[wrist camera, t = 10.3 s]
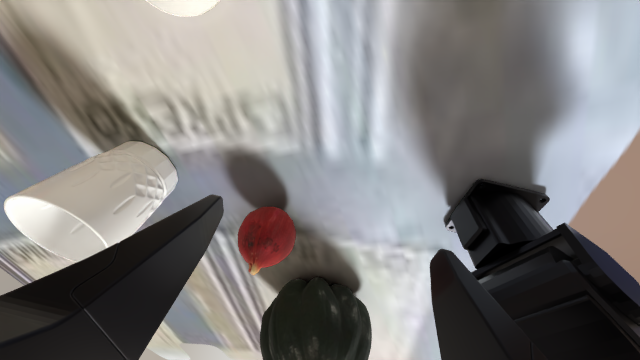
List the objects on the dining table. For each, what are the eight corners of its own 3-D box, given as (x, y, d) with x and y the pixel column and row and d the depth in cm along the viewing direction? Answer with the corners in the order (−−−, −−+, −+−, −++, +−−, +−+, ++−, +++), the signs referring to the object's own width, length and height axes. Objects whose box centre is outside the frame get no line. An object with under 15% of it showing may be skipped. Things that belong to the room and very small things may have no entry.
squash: (244, 336, 37) (289, 463, 28) (245, 280, 29) (311, 434, 19) (320, 295, 45) (376, 383, 35) (338, 241, 36) (418, 338, 27)
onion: (246, 192, 27) (210, 250, 21) (295, 190, 26) (272, 250, 19) (262, 229, 30) (235, 289, 24) (306, 228, 29) (290, 291, 23)
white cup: (135, 193, 30) (52, 261, 22) (99, 134, 26) (-23, 192, 17) (193, 196, 29) (127, 269, 21) (166, 135, 24) (68, 198, 16)
